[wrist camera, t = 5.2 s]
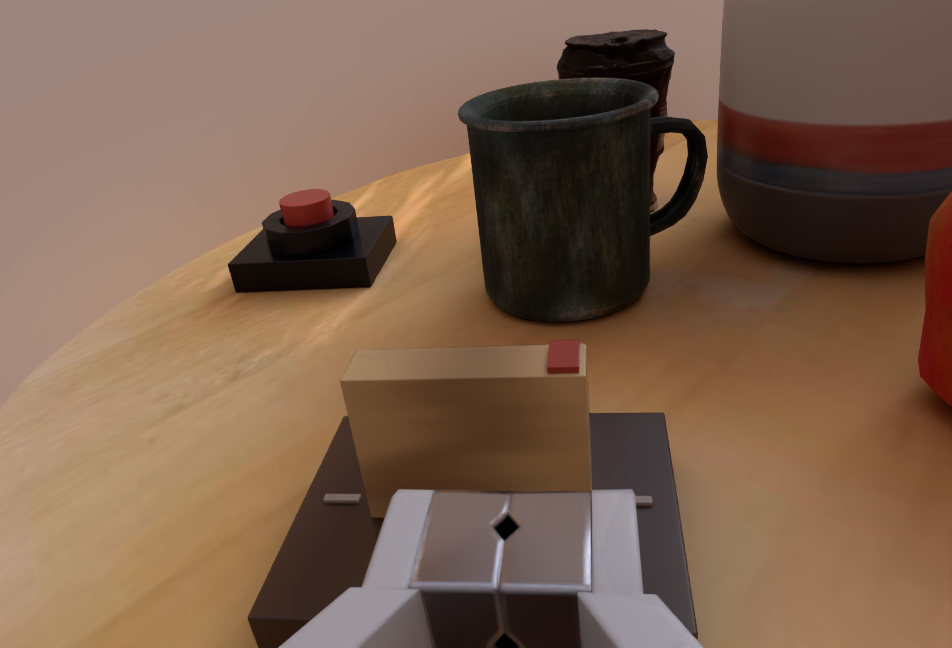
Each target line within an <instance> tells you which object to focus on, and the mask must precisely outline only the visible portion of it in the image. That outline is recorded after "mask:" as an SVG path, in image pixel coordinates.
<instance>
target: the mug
mask: <svg viewBox="0 0 952 648" xmlns="http://www.w3.org/2000/svg"><path fill="white" fill-rule="evenodd" d="M658 96H659V95H658V92H657V90H656V89H655V88H653V87H652V86H650V85H648V84H645V83H643V82H639V81H634V80H627V79H617V78H573V79H560V80H550V81H542V82H534V83H528V84H522V85H516V86H511V87H507V88H503V89H498V90H495V91H491V92H488V93H485V94H482V95H479V96H477V97H475V98H473V99H470V100H469V101H467V102H466V103H464V104H463V105H462V106H461V107H460V109H459V112H458V116H459V119H460V121H462V122H463V123H464V124H466V125H467V130H468V138H469V146H470V155H471V164H472V173H473V182H474V191H475V200H476V209H477V218H478V227H479V236H480V245H481V254H482V263H483V272H484V281H485V288H486V292H487V294H488V296H489V297H490V298H491V299H492V301H493V302H494V303H495V304H496V305H497V306H498V307H499V308H501V309H502V310H504V311H506V312H507V313H510V314H512V315H515V316H518V317H522V318H526V319H531V320H537V321H549V322H566V321H578V320H585V319H591V318H596V317H600V316H604V315H607V314H610V313H613V312H616V311H618V310H620V309H623V308H624V307H626V306H628V305H630V304H631V303H632V302H634V301H635V300H636V299H637V298H638V297H639V296H640V295H641V294H642V292H643V291H644V289H645V288H646V286H647V284H648V282H649V276H650V236H651V235H654V234H656V233H659V232H661V231H663V230H665V229H667V228H669V227H671V226H673V225H674V224H676V223H677V222H678V221H679V220H681V219H682V218H683V217H684V216H685V215H686V214H687V212H688V211H689V210H690V208H691V207H692V205H693V204H694V202H695V200H696V198H697V195H698V193H699V190H700V188H701V185H702V182H703V180H704V174H705V169H706V163H707V158H708V155H707V148H706V141H705V136H704V135H703V134H702V133H701V132H700V130H699V129H698V128H697V127H696V126H695V125H694V124H693V123H692V122H691V121H690V120H689V119H683V118H673V117H655V118H650V111H651V107H653V106H654V105H655V104H656V103H657V101H658ZM670 132H673V133H682V134H683V135H684V136H685V138H686V139H687V148H688V157H687V161H686V166H685V170H684V174H683V177H682V179H681V181H680V184H679V186H678V188H677V190H676V192H675V194H674V195H673V197H672V198H671V200H670V201H669V202H668V203H667V204H666V205H665V206H664V207H662V208H661V209H660V210H658V211H656V212H654V213H653V214H651V215H650V135H655V134H662V133H670Z"/></svg>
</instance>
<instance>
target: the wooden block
mask: <svg viewBox="0 0 952 648" xmlns="http://www.w3.org/2000/svg"><path fill="white" fill-rule="evenodd" d="M340 383H341V387H342V392H343V396H344V400H345V405H346V409H347V413H348V418H349V422H350V426H351V431H352V435H353V439H354V444H355V448H356V452H357V457H358V461H359V465H360V470H361V474H362V478H363V483H364V487H365V491H366V496H367V500H368V504H369V509H370V513H371V517H372V518H385V515H386V513H387V510H388V507H389V504H390V501H391V498H392V496H393V495H394V494H395V493H396V492H397V490H398V489H410V490H435V491H436V490H437V489H441V490H483V491H591V495H592V468H591V445H590V422H589V399H588V376H587V353H586V344H580V340H550V341H549V345H521V346H484V347H447V348H410V349H372V350H356V351H355V353H354V355H353V357H352V359H351V361H350V363H349V365H348V366H347V368H346V370H345V372H344V374H343V376H342V378H341V380H340Z"/></svg>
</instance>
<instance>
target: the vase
mask: <svg viewBox="0 0 952 648" xmlns="http://www.w3.org/2000/svg"><path fill="white" fill-rule="evenodd" d="M717 179H718V187H719V191H720V195H721V199H722V202H723V205H724V207H725V209H726V212H727V214H728V216H729V217H730V219H731V221H732V222H733V223H734V225H735V226H736V227H737V228H738V229H739V230H740V231H741V232H743V233H744V234H745V235H747V236H748V237H750V238H751V239H753V240H755V241H756V242H758V243H760V244H762V245H764V246H766V247H769V248H771V249H774V250H777V251H780V252H783V253H786V254H790V255H794V256H798V257H802V258H807V259H813V260H819V261H827V262H837V263H882V262H893V261H901V260H907V259H913V258H917V257H921V256H925V253H926V245H927V238H928V230H929V222H930V218H931V217H932V216H933V214H934V213H935V212H936V211H937V209H938V208H939V207H940V205H941V204H942V203H943V202H944V200H945V199H946V198H947V197H948V195H949V194H950V193H951V191H952V0H724V8H723V22H722V42H721V63H720V85H719V108H718V135H717Z"/></svg>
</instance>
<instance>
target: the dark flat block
mask: <svg viewBox="0 0 952 648" xmlns="http://www.w3.org/2000/svg"><path fill="white" fill-rule="evenodd" d="M589 422H590V445H591V468H592V490H616V489H632V490H633V492H634V494H635V499H636V511H637V523H638V535H639V548H640V560H641V572H642V584H643V594H655V595H657V596H658V597H659V598H660V599H661V600H662V601H663V603H664V604H665V605H666V606H667V607H668V608H669V609H670V610H671V611H672V613H673V614H674V615H675V616H676V617H677V618H678V619H679V620H680V622H681V623H682V624H683V625H684V626H685V627H686V628H687V629H688V631H689V632H690V633H691V634H692V635H693V636H694V637H695V638H696V640H697V638H698V632H697V626H696V619H695V612H694V606H693V599H692V593H691V586H690V579H689V573H688V566H687V560H686V553H685V546H684V540H683V533H682V527H681V520H680V513H679V507H678V500H677V493H676V487H675V480H674V474H673V467H672V460H671V454H670V447H669V441H668V434H667V427H666V421H665V415H664V413H589ZM383 521H384V518H372V517H371V513H370V509H369V504H368V500H367V496H366V491H365V487H364V483H363V478H362V474H361V470H360V465H359V461H358V457H357V452H356V448H355V444H354V439H353V435H352V431H351V426H350V422H349V418H348V416H345V417H343V419H342V421H341V423H340V425H339V428H338V430H337V432H336V434H335V436H334V438H333V440H332V442H331V444H330V446H329V448H328V451H327V453H326V455H325V457H324V459H323V461H322V463H321V465H320V467H319V469H318V471H317V473H316V476H315V478H314V480H313V482H312V484H311V486H310V488H309V490H308V492H307V494H306V496H305V499H304V501H303V503H302V505H301V507H300V509H299V511H298V513H297V515H296V517H295V519H294V521H293V524H292V526H291V528H290V530H289V532H288V534H287V536H286V538H285V540H284V542H283V544H282V547H281V549H280V551H279V553H278V555H277V557H276V559H275V561H274V563H273V565H272V567H271V569H270V572H269V574H268V576H267V578H266V580H265V582H264V584H263V586H262V588H261V590H260V592H259V595H258V597H257V599H256V601H255V603H254V605H253V607H252V609H251V611H250V613H249V615H248V621H249V624H250V627H251V629H252V632H253V635H254V638H255V640H256V643H257V646H258V648H278V647H280V646H281V645H282V644H283V643H284V642H285V641H287V640H288V639H289V638H290V637H291V636H293V635H294V634H295V633H296V632H297V631H299V630H300V629H301V628H302V627H303V626H304V625H306V624H307V623H308V622H309V621H310V620H312V619H313V618H314V617H315V616H316V615H317V614H319V613H320V612H321V611H322V610H323V609H325V608H326V607H327V606H328V605H329V604H331V603H332V602H333V601H334V600H335V599H336V598H338V597H339V596H340V595H341V594H342V593H344V592H345V591H346V590H347V589H348V588H350V587H362V584H363V581H364V578H365V575H366V572H367V569H368V566H369V563H370V560H371V557H372V554H373V551H374V548H375V545H376V542H377V539H378V536H379V533H380V530H381V527H382V524H383Z"/></svg>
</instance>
